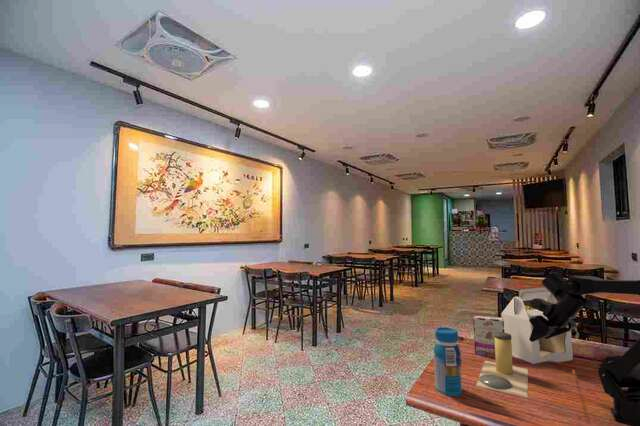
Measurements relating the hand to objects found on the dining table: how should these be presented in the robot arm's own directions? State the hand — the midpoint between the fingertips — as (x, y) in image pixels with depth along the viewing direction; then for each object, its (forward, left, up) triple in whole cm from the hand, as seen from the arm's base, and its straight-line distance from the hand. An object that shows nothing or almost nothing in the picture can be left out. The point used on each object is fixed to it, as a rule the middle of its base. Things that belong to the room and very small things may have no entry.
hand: (537, 339), depth 110 cm
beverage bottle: (-27, +25, -14) cm, 39 cm away
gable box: (+23, +1, -14) cm, 27 cm away
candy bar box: (+12, +17, -14) cm, 24 cm away
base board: (-8, +11, -14) cm, 19 cm away
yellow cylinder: (-3, +11, -12) cm, 16 cm away
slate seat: (-14, +13, -12) cm, 23 cm away
